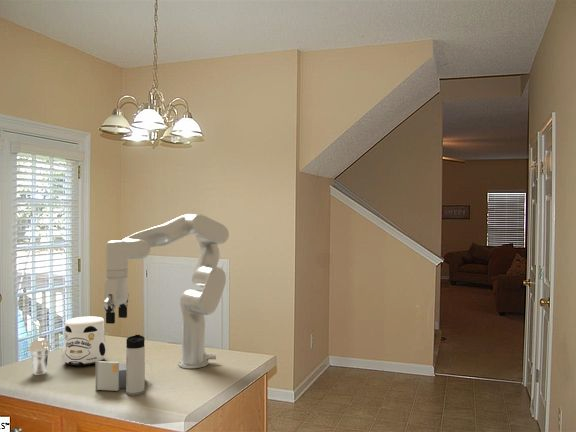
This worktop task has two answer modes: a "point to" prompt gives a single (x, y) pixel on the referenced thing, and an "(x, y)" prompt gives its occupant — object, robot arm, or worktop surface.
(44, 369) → the cup with straw
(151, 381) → the worktop surface
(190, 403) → the worktop surface
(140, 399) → the worktop surface
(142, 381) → the travel mug
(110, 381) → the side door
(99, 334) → the milk container
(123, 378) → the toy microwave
